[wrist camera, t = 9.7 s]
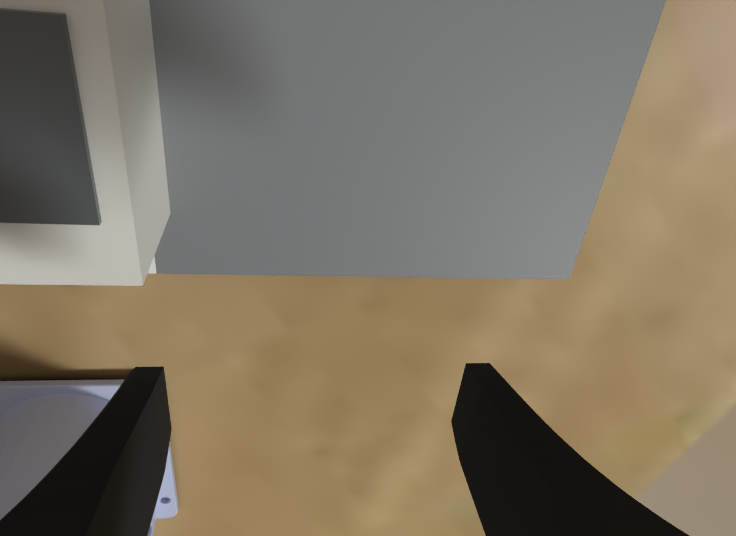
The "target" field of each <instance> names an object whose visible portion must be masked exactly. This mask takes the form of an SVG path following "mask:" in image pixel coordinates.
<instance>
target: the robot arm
mask: <svg viewBox="0 0 736 536" xmlns="http://www.w3.org/2000/svg"><path fill="white" fill-rule="evenodd" d="M451 422H452V427H453V432H454V437H455V442H456V447H457V451H458V455H459V460H460V463H461V466H462V469H463V472H464V475H465V478H466V481H467V483H468V486H469V489H470V492H471V495H472V498H473V501H474V503H475V506H476V509H477V512H478V515H479V518H480V521H481V523H482V526H483V529H484V532H485V535H486V536H689V535H687V534H686V533H684V532H683V531H681V530H679V529H678V528H676V527H675V526H673V525H672V524H670V523H668V522H667V521H665V520H664V519H662V518H661V517H659V516H658V515H656V514H655V513H654V512H652V511H651V510H649V509H648V508H646V507H645V506H643V505H642V504H641V503H639V502H638V501H637V500H635V499H634V498H632V497H631V496H630V495H628V494H627V493H626V492H624V491H623V490H622V489H620V488H619V487H618V486H616V485H615V484H614V483H613V482H611V481H610V480H609V479H608V478H606V477H605V476H604V475H603V474H601V473H600V472H599V471H598V470H596V469H595V468H594V467H593V466H592V465H591V464H589V463H588V462H587V461H586V460H585V459H584V458H582V457H581V456H580V455H579V454H578V453H577V452H576V451H575V450H574V449H573V448H571V447H570V446H569V445H568V444H567V443H566V442H565V441H564V440H563V439H562V438H561V437H560V436H558V435H557V434H556V433H555V432H554V431H553V430H552V429H551V428H550V427H549V426H548V425H547V424H546V423H545V422H544V421H543V420H542V419H541V418H540V417H539V416H538V415H537V414H536V413H535V412H534V411H533V409H532V408H531V407H530V406H529V405H528V404H527V403H526V402H525V401H524V400H523V399H522V398H521V397H520V396H519V395H518V394H517V392H516V391H515V390H514V389H513V388H512V387H511V386H510V385H509V384H508V383H507V382H506V381H505V379H504V378H503V377H502V376H501V375H500V374H499V373H498V372H497V371H496V370H495V369H494V368H493V366H492V365H491V364H490V363H466V366H465V370H464V374H463V377H462V381H461V385H460V389H459V393H458V397H457V401H456V405H455V409H454V413H453V417H452V421H451ZM170 436H171V422H170V414H169V406H168V398H167V390H166V382H165V374H164V367H135V368H134V369H133V370H131V372H130V373H129V374H128V376H127V377H126V379H118V380H48V381H0V536H153V533H154V528H155V523H156V519H157V518H170V517H173V516H175V515H176V514H177V511H178V499H177V492H176V484H175V476H174V469H173V461H172V453H171V446H170Z"/></svg>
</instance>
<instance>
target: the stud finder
mask: <svg viewBox="0 0 736 536" xmlns="http://www.w3.org/2000/svg"><path fill="white" fill-rule="evenodd" d="M169 216H170V205H169V195H168V185H167V174H166V164H165V154H164V144H163V134H162V124H161V114H160V104H159V94H158V84H157V74H156V64H155V54H154V44H153V33H152V23H151V13H150V3H149V0H0V284H36V285H129V286H143V284H144V281H145V279H146V276H147V273H148V271H149V268H150V266H151V263H152V260H153V258H154V255H155V252H156V250H157V247H158V245H159V242H160V239H161V237H162V234H163V232H164V229H165V226H166V224H167V221H168V218H169Z"/></svg>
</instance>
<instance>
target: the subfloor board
mask: <svg viewBox="0 0 736 536" xmlns="http://www.w3.org/2000/svg"><path fill="white" fill-rule="evenodd" d="M665 2H666V0H149V3H150V13H151V23H152V33H153V44H154V54H155V64H156V74H157V84H158V94H159V104H160V114H161V124H162V134H163V144H164V154H165V164H166V174H167V185H168V195H169V205H170V216H169V218H168V221H167V224H166V226H165V229H164V232H163V234H162V237H161V239H160V242H159V245H158V247H157V250H156V252H155V255H154V258H153V260H152V263H151V266H150V268H149V271H148V273H165V274H233V275H301V276H369V277H437V278H504V279H569V278H570V276H571V273H572V270H573V267H574V264H575V261H576V258H577V255H578V253H579V250H580V247H581V244H582V241H583V238H584V235H585V232H586V229H587V227H588V224H589V221H590V218H591V215H592V212H593V209H594V206H595V204H596V201H597V198H598V195H599V192H600V189H601V186H602V183H603V181H604V178H605V175H606V172H607V169H608V166H609V163H610V160H611V157H612V155H613V152H614V149H615V146H616V143H617V140H618V137H619V134H620V132H621V129H622V126H623V123H624V120H625V117H626V114H627V111H628V108H629V106H630V103H631V100H632V97H633V94H634V91H635V88H636V85H637V83H638V80H639V77H640V74H641V71H642V68H643V65H644V62H645V60H646V57H647V54H648V51H649V48H650V45H651V42H652V39H653V36H654V34H655V31H656V28H657V25H658V22H659V19H660V16H661V13H662V11H663V8H664V5H665Z"/></svg>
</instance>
